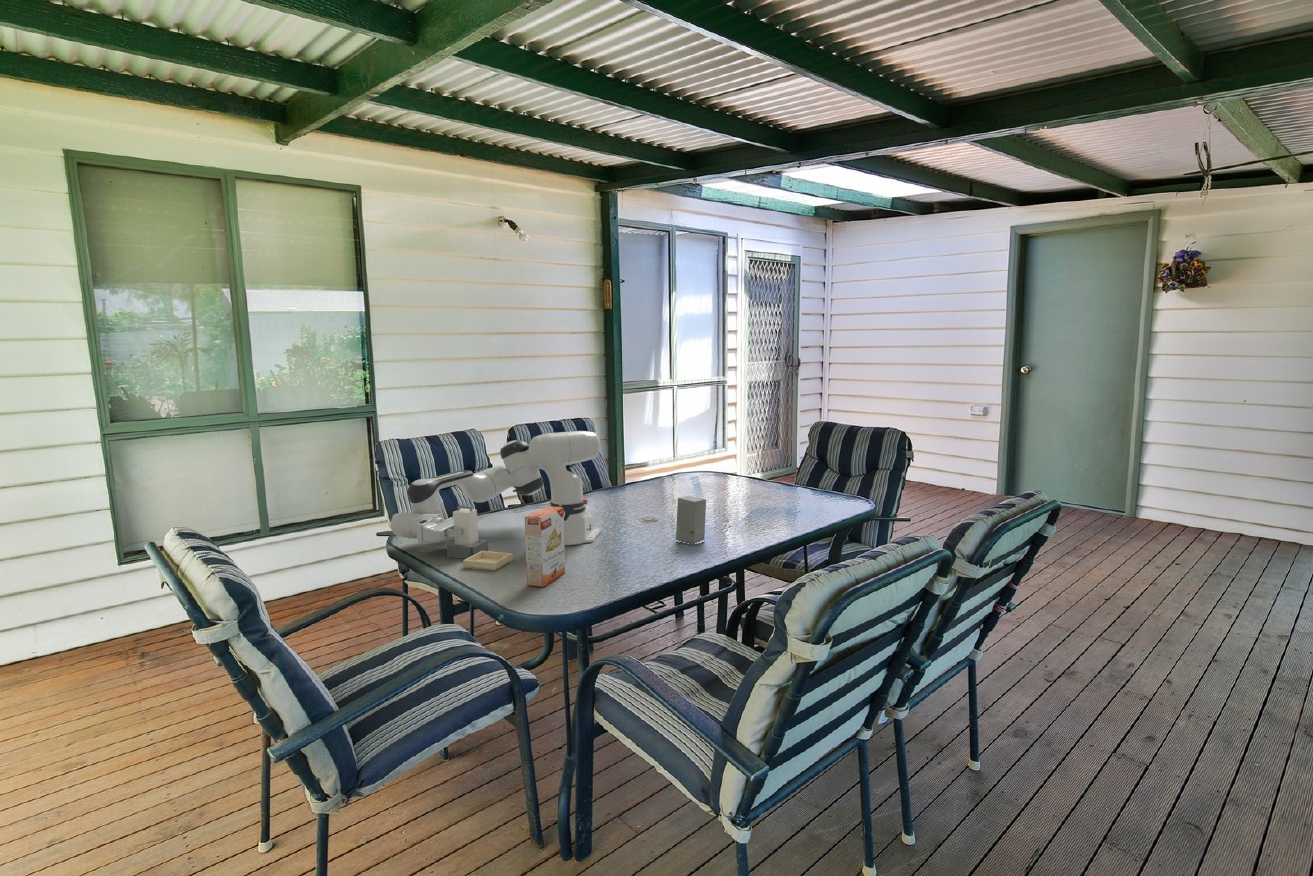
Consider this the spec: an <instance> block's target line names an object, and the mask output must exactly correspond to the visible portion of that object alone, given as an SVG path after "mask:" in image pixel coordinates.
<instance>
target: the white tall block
mask: <svg viewBox="0 0 1313 876" xmlns="http://www.w3.org/2000/svg"><path fill="white" fill-rule="evenodd" d="M456 509H457V510H454V511H452V517H453V523H454V530H457V529H462V530H463V534H462V535H460V536H457V535H456V536H453V537H454V545H464V546H473V545H475V544H477V543H479V539H480V538H479V526H478V525H479V523H478V510H477V509H475V508H473V507H472V506H468V505H467V506H466V505H457V507H456Z"/></svg>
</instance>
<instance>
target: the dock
mask: <svg viewBox="0 0 1313 876" xmlns="http://www.w3.org/2000/svg"><path fill="white" fill-rule="evenodd" d="M478 539H479V543H477V544H475V545H473V546H464V545H455V544H451V543H450V544H449V543H448V544H446V555H447V556H450V557H449V558H455V557H460V558H459V559H465V558H466V559H467V558H469V557H471V556H473V555H475V554H476V553H478V552H480V551H490V550H489V540H488V539H482V538H478Z"/></svg>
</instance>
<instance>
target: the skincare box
mask: <svg viewBox="0 0 1313 876" xmlns="http://www.w3.org/2000/svg"><path fill="white" fill-rule="evenodd" d="M676 508H677V512H676V529H675V530H676V531H675V532H676V533H675V541H676V540H678V541H681V542H685V543H689V544H695V543H697V542H700V541H702V540H704V541H705V536H706V535H705V534H706V515H707V514H706V512H707V510H706V509H707V499H706V498H701V497H698V496H692V495H684V496H680V497H679V496H678V497H677V507H676ZM689 544H688V545H689Z"/></svg>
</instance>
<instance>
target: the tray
mask: <svg viewBox="0 0 1313 876" xmlns="http://www.w3.org/2000/svg"><path fill="white" fill-rule="evenodd" d="M462 561H463V568H464V569H469V568H473V569H472V570H479V569H481V570H480V571H490V570H491V571H492V572H497V571H498V570H500V569H503V566H504V567H506V566H507V565H509V564H510V563H512V562H514V555H513V553H511V552H502V551H500V552H497V551H490V550H489V551H480V552H478V553H476V554H475V555H473V556H471V557H469V558H467V559H465V558H464V559H463V560H462ZM508 563H509V564H508ZM506 564H507V565H506ZM499 568H500V569H499ZM496 570H497V571H496Z"/></svg>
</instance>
